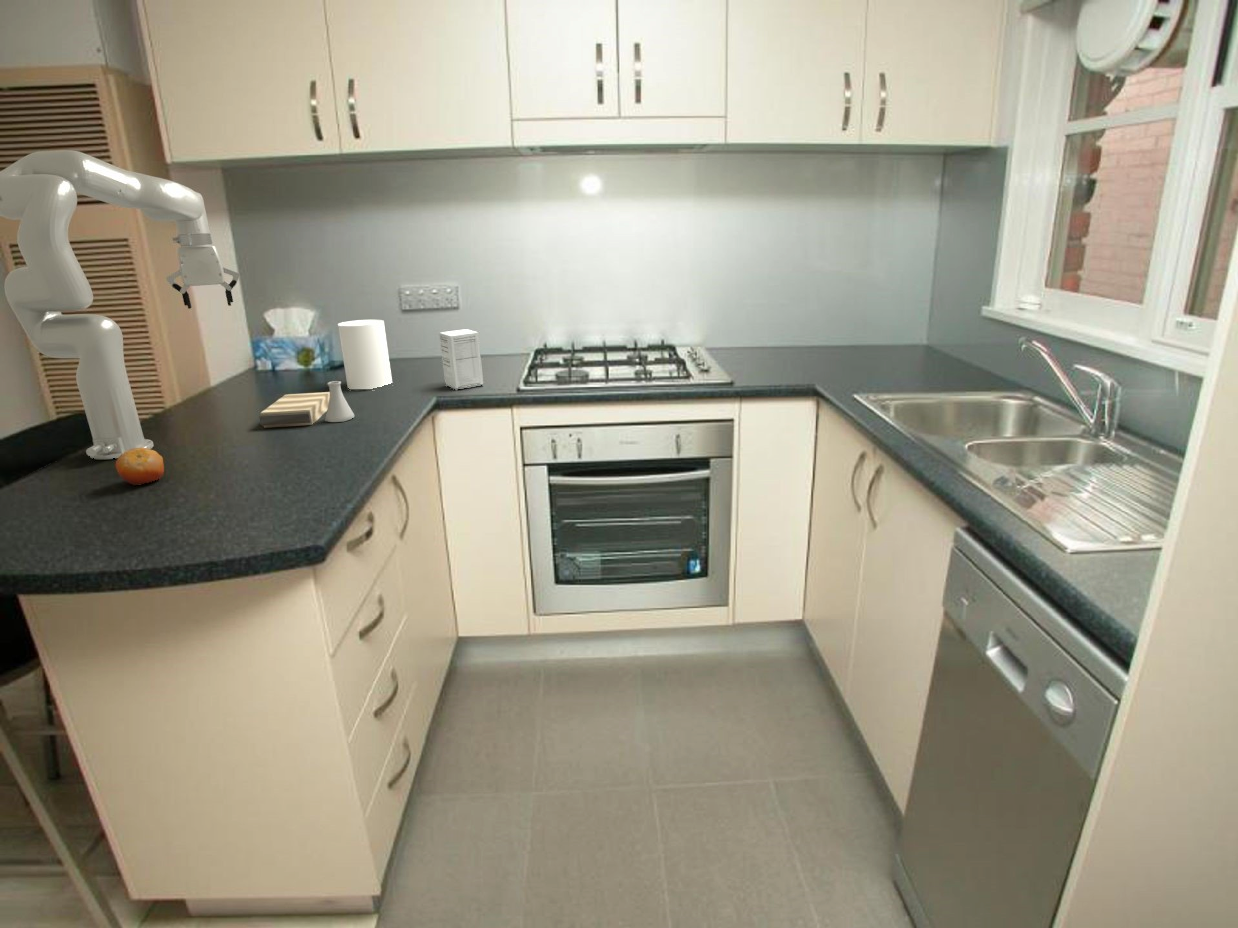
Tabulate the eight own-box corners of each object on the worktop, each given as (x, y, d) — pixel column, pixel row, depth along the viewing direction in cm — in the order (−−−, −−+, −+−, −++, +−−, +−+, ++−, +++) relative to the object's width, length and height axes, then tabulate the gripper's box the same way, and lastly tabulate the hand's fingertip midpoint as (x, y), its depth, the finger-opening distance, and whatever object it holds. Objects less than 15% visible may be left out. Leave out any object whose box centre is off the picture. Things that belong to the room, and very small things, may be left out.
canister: (346, 392, 217) (335, 327, 211) (349, 383, 230) (339, 321, 223) (392, 388, 221) (383, 324, 214) (393, 380, 233) (384, 318, 226)
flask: (344, 423, 184) (338, 385, 180) (319, 422, 185) (313, 385, 182) (359, 416, 190) (354, 379, 187) (335, 415, 192) (329, 379, 188)
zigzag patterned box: (310, 426, 182) (307, 411, 180) (261, 429, 180) (258, 414, 179) (331, 405, 202) (329, 392, 201) (287, 408, 201) (285, 394, 199)
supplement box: (472, 381, 227) (467, 328, 222) (484, 386, 220) (479, 331, 214) (444, 386, 222) (438, 332, 217) (455, 391, 215) (449, 335, 209)
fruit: (153, 464, 151) (152, 437, 146) (170, 489, 148) (170, 461, 144) (109, 475, 145) (107, 447, 140) (126, 501, 142) (125, 473, 138)
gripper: (156, 243, 182) (172, 310, 187) (232, 240, 189) (245, 305, 195) (159, 242, 188) (174, 308, 194) (232, 240, 195) (244, 303, 201)
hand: (210, 306), depth 194 cm, fingers open, 9 cm apart
